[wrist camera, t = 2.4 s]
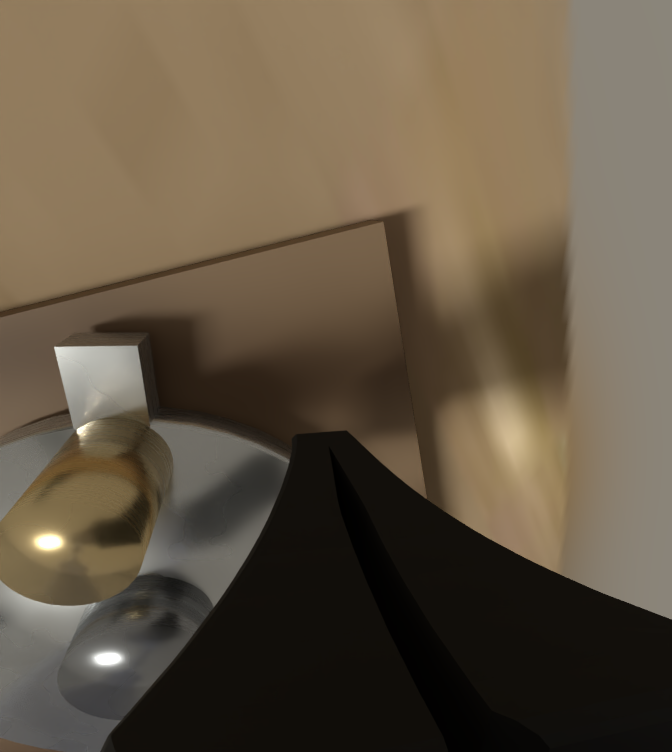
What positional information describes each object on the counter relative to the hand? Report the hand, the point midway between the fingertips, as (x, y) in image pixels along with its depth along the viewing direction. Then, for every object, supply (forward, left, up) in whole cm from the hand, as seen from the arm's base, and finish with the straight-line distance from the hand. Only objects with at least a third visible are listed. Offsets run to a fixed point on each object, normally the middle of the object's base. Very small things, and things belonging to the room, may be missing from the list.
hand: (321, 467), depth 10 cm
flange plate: (-5, +5, -2) cm, 7 cm away
